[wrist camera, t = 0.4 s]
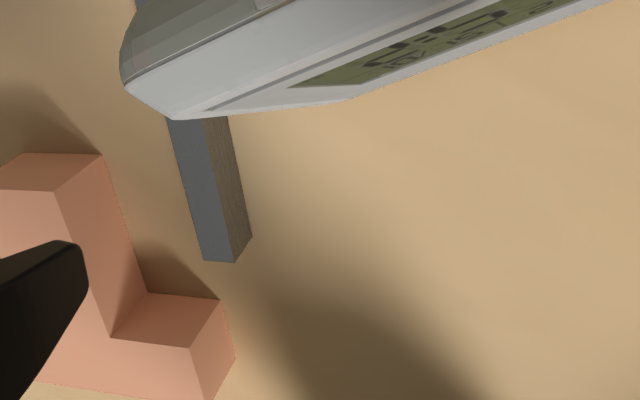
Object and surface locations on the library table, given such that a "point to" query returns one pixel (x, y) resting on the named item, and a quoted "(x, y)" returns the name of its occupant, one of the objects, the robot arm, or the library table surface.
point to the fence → (211, 184)
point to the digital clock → (306, 48)
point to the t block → (110, 289)
